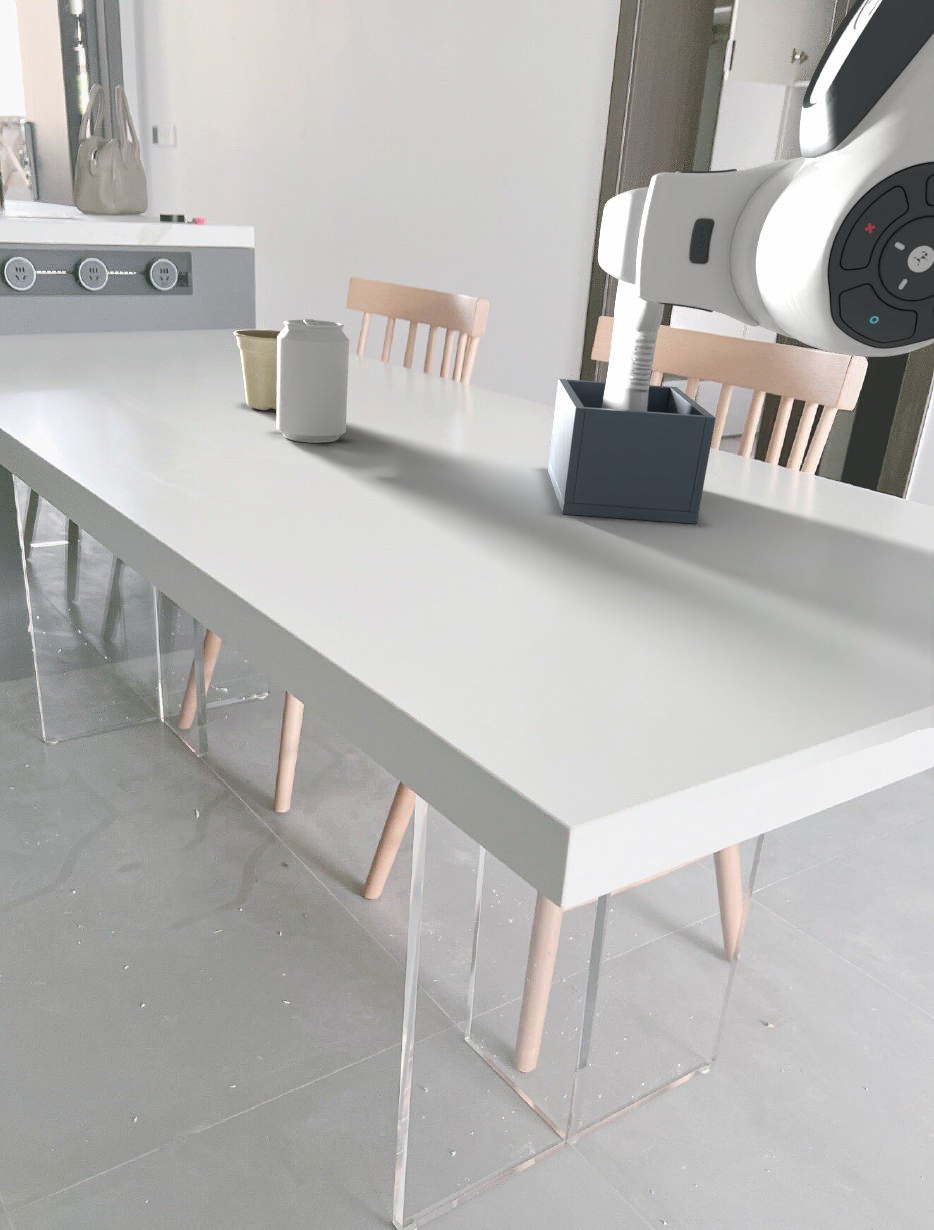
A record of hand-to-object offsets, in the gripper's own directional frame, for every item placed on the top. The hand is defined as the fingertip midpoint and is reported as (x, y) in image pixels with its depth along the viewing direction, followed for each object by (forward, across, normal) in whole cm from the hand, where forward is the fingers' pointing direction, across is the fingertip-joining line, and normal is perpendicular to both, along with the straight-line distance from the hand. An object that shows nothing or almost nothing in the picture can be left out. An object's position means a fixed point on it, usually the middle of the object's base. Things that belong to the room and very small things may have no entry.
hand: (745, 241), depth 69 cm
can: (+40, +33, +22) cm, 57 cm away
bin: (+23, +2, +22) cm, 32 cm away
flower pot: (+57, +40, +22) cm, 73 cm away
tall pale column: (+24, +3, +22) cm, 32 cm away
